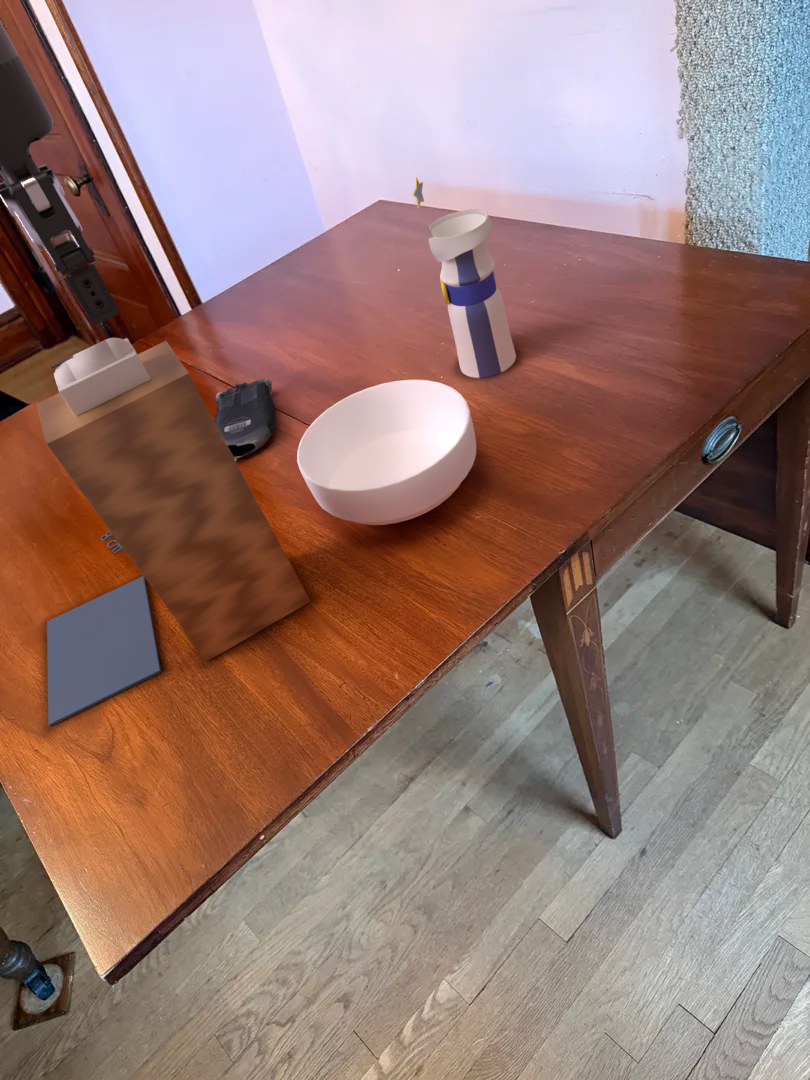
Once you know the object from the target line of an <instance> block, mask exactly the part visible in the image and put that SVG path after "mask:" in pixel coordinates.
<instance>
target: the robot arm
mask: <svg viewBox="0 0 810 1080" xmlns="http://www.w3.org/2000/svg"><path fill="white" fill-rule="evenodd" d="M54 125H55V122H54V118H53V116H52V115H51V113H50V111H49V109H48V107H47V105H46V104H45V102H44V99H43V98H42V96H41V94H40V92H39V90H38V88H37V87H36V84H35V83H34V81H33V79H32V77H31V75H30V73H29V71H28V70H27V68H26V66H25V64H24V62H23V59H22V58H21V56H20V54H19V53H18V51H17V49H16V47H15V45H14V43H13V41H12V40H11V38H10V35H9V34H8V32H7V30H6V28H5V27H4V25H3V22H2V21H1V20H0V180H1V181H2V182H1V183H0V198H1V200H2V202H3V203H4V205H5V207H6V208H7V210H8V211H9V213H10V215H11V216H12V217H13V218H15V219H17V220H18V222H19V224H20V225H21V226H22V228H23V230H24V231H25V233H26V234H27V236H28V237H29V239H30V240H31V242H32V243H33V245H34V247H35V248H36V250H37V251H39V252H41V253H45V254H48V256H49V258H50V260H51V262H52V263H53V267H54V269H55V271H56V273H57V274H58V275H60V276H61V278H62V279H63V281H64V283H65V284H66V287H67V288H68V289H69V291H70V292H71V293H72V294H74V296H75V297H76V299H77V301H78V302H79V304H80V307H82V309H83V311H84V312H85V314H86V316H87V317H88V319H89V320H90V322H91V323H93V324H95V325H100V324H101V323H104V322H106V321H108V320H110V319H112V318H114V317H116V316H117V315H118V314H119V312H120V309H119V305H118V304H117V302H116V301H115V299H114V297H113V296H112V294H111V291H110V290H109V288H108V287H107V285H106V283H105V281H104V280H103V278H102V276H101V274H100V272H99V270H98V269H97V267H96V265H97V264H96V258H95V255H96V254H95V252H94V251H93V249H92V247H89V246H88V244H87V242H86V240H85V239H84V237H83V230H84V229H83V226H82V225H81V223H80V221H79V219H78V217H77V215H76V214H75V212H74V210H73V208H72V207H71V206H70V204H69V201H68V200H67V198H66V197H65V195H66V193H65V191H64V189H63V186H62V184H61V182H60V180H59V178H58V177H57V175H56V174H55V172H54V170H53V169H52V168H49V166H48V165H47V163H45V164H42V165H40V166H38V165H37V163H36V162H35V160H34V157H32V154H31V153H30V146H31V144H32V143H35V142H37V141H40V140H42V139H43V138H45V137H46V136H47V135H49V134H50V133H51V132H52V130H53V128H54Z"/></svg>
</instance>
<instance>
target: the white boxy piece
mask: <svg viewBox="0 0 810 1080" xmlns="http://www.w3.org/2000/svg"><path fill="white" fill-rule="evenodd" d="M50 368H51V369H52V370H54V369H55V371H54V372H53V373H52V374H53V377H54V380H55V384H56V387H57V389H58V393H60V394H61V395H62V397H63V398H64V400H65V401H66V403H67V404H68V406H69V407H70V408H71V410H72V411H73V413H74V414H75V416H78V415H80V414H82V413H84V412H87V411H89V410H91V409H93V408H95V407H97V406H99V405H101V404H103V403H105V402H107V401H109V400H111V399H113V398H115V397H117V396H119V395H121V394H123V393H125V392H127V391H129V390H131V389H133V388H135V387H137V386H139V385H141V384H143V383H145V382H147V381H149V380H151V378H150V376H149V374H148V373H147V371H146V369H145V367H144V366H143V364H142V362H141V361H140V359H139V357H138V353H137V351H136V349H135V347H134V346H133V345H132V344H131V342H130V339H129V338H128V337H125V338H119V337H109V338H107V339H104V340H102V341H100V342H98V343H96V344H93V345H92V346H90V347H87V348H85V349H83V350H81V351H78V352H77V353H74V354H73V355H71V356H69V357H67V358H64V359H63V360H60V361H58V362H56V363H53V364H52V365H50Z"/></svg>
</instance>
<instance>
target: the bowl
mask: <svg viewBox="0 0 810 1080" xmlns="http://www.w3.org/2000/svg"><path fill="white" fill-rule="evenodd" d="M476 440H477V439H476V433H475V427H474V423H473V418H472V413H471V410H470V407H469V405H468V402H467V400H466V398H464V396H463V395H462V393H460V392H459V391H457V390H456V389H455V388H453V387H452V386H450V385H447V384H444V383H442V382H438V381H433V380H430V379H429V380H428V379H403V380H402V379H401V380H395V381H394V380H393V381H389V382H383V383H380V384H376V385H374V386H370V387H367V388H365V389H362V390H358V391H357V392H355V393H352V394H350V395H348V396H347V397H344V398H343V399H340V400H339V401H336V402H335V403H334V404H333V405H332V406H330V407H328V408H327V409H326V410H324V411H323V412H322V413H321V414H320V415H319V416H318V417H317V418H315V419H314V421H313V422H312V423H311V424H310V425H309V426H308V428H307V429H306V430H305V432H304V434H303V435H302V437H301V439H300V441H299V444H298V446H297V451H296V463H297V465H298V469H299V471H300V474H301V476H302V477H303V479H304V481H305V484H306V486H307V488H308V490H309V491H310V493H311V494H312V496H313V498H314V500H315V502H317V504H318V505H319V506H320V508H321V509H322V510H324V511H325V512H327V513H328V514H330V515H331V516H333V517H335V518H339V519H341V520H343V521H349V522H353V523H355V524H360V525H361V524H362V525H367V526H385V525H392V524H398V523H402V522H405V521H409V520H412V519H415V518H416V517H417V518H418V517H420V516H422V515H423V514H426V513H428V512H430V511H432V510H433V509H435V508H437V507H439V506H440V505H441V504H442V503H443V502H445V501H446V500H448V499H449V498H450V497H451V496H452V495H453V493H454V492H455V491H456V490H457V489H458V488H459V487H460V485H461V483H462V482H463V481H464V480H465V479H466V477H467V476H468V474H469V472H470V471H471V469H472V467H474V463H475V459H476V456H477V441H476Z"/></svg>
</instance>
